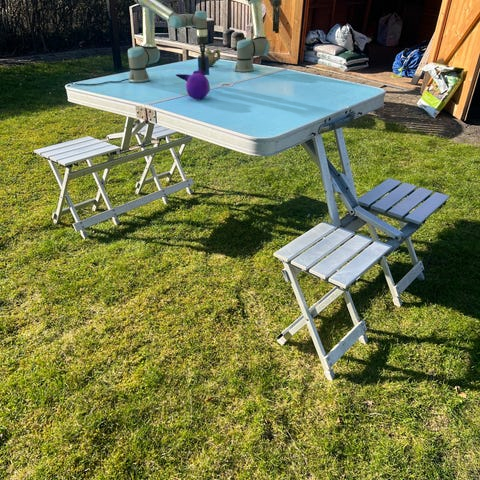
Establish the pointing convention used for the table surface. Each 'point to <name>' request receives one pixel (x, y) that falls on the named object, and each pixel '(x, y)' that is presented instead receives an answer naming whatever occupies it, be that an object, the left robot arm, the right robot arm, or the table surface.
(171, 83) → the table surface
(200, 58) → the brick
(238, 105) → the table surface
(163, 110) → the table surface
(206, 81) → the toy
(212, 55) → the teapot
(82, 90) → the table surface
